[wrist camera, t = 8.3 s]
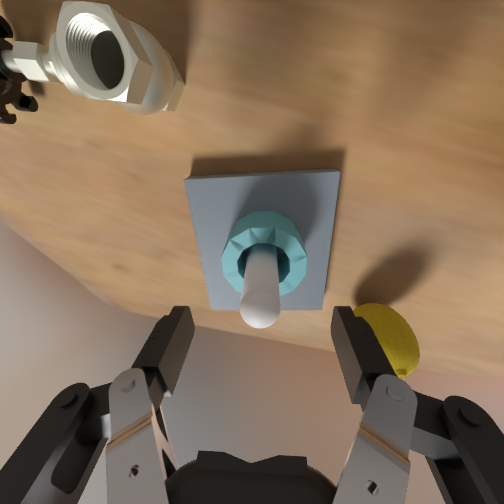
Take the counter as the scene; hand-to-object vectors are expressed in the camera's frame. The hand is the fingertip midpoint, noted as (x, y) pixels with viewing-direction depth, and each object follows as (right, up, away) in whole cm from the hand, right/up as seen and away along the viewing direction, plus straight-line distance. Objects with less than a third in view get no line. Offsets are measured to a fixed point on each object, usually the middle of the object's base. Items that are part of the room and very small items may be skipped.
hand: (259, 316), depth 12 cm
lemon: (+12, -2, +12) cm, 18 cm away
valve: (-11, +16, +4) cm, 20 cm away
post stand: (+1, +5, +9) cm, 10 cm away
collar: (+1, +4, +7) cm, 9 cm away
